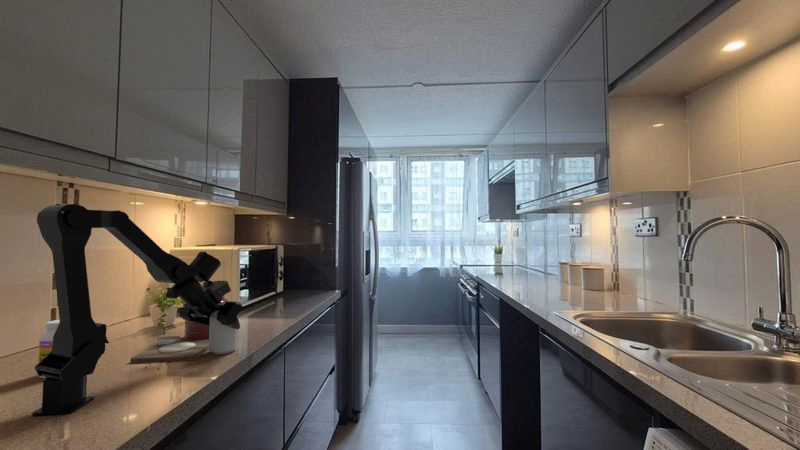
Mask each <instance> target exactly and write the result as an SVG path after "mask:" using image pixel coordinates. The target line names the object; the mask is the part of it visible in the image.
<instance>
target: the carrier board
mask: <svg viewBox="0 0 800 450" xmlns="http://www.w3.org/2000/svg"><path fill="white" fill-rule="evenodd" d="M207 351H209V340H181V336H180V335H169V336H163V337H160V338H157V339H156V344H155V345H154V346H152V347H149V348H148V349H146V350H144V351H142V352H140V353H138V354H136V355H134V356H132V357H130V364H137V363H138V364H139V363H140V364H141V363H159V362H179V361H196V359H198V358H199V357H201V356H202V355H203V354H204V353H206V352H207Z"/></svg>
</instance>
